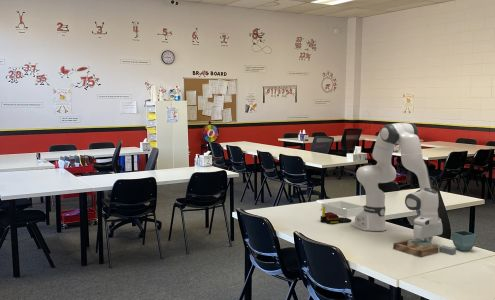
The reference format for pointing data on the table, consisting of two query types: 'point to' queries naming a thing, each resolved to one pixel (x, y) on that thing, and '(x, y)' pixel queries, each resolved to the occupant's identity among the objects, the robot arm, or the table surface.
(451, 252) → the block
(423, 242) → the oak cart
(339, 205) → the toy storage tray
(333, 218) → the fire station toy set
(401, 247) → the bay
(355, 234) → the table surface
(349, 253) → the table surface
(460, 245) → the flower pot
